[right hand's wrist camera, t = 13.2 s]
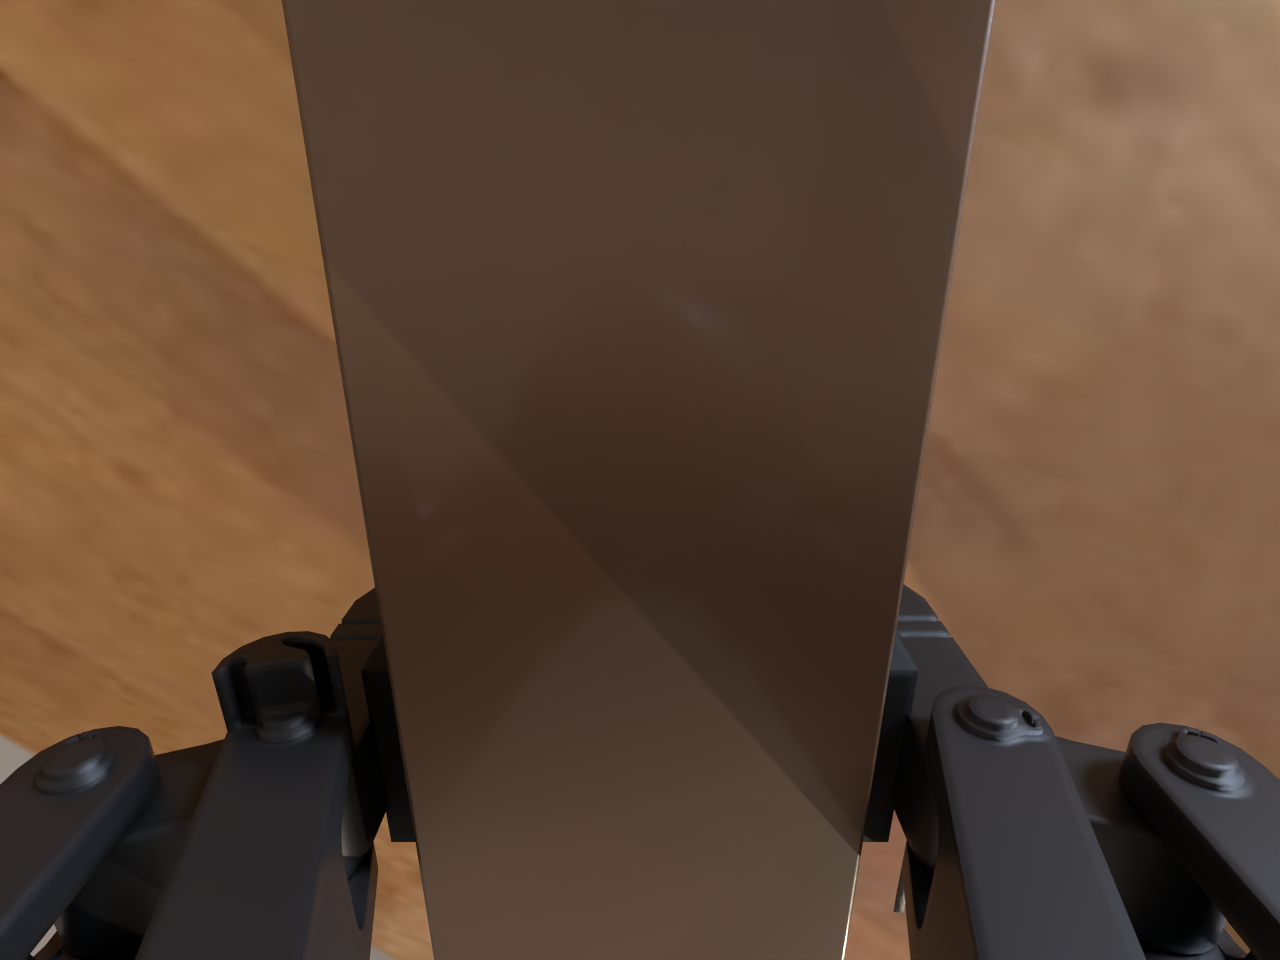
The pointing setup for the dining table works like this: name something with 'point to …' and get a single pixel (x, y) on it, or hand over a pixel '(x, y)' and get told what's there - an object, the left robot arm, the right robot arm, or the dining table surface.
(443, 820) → the bar
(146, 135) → the dining table surface
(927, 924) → the right robot arm
